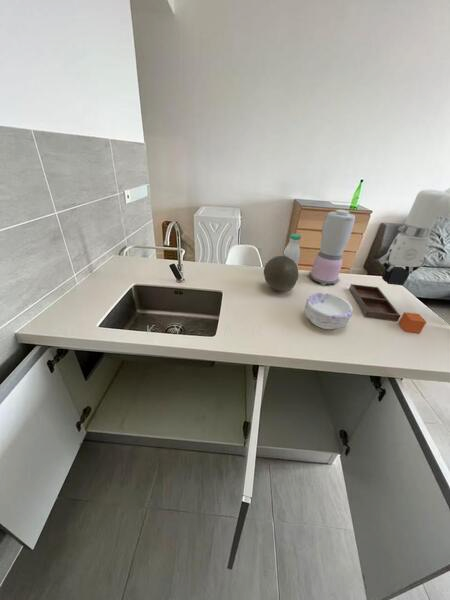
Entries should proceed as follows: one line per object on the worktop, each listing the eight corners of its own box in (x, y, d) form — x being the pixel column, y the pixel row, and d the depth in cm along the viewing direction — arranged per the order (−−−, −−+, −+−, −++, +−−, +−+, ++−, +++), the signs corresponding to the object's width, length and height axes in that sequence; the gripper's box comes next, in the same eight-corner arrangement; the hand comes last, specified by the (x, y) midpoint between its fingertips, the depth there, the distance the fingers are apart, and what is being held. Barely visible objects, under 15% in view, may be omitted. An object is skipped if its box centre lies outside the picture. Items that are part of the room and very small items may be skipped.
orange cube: (412, 325, 89) (419, 313, 86) (419, 333, 84) (426, 322, 82) (398, 323, 89) (404, 312, 86) (404, 331, 85) (410, 320, 82)
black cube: (396, 279, 91) (402, 267, 88) (402, 285, 86) (409, 272, 84) (382, 277, 91) (387, 265, 88) (388, 284, 87) (393, 271, 84)
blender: (341, 285, 113) (366, 214, 97) (319, 287, 110) (340, 214, 94) (322, 271, 126) (340, 206, 110) (301, 272, 123) (316, 206, 107)
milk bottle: (297, 274, 121) (306, 234, 111) (292, 279, 116) (301, 238, 105) (282, 270, 125) (290, 231, 114) (277, 275, 119) (284, 235, 108)
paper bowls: (337, 341, 79) (345, 321, 74) (294, 321, 87) (299, 302, 83) (352, 321, 89) (359, 303, 84) (312, 305, 97) (317, 287, 93)
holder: (375, 292, 109) (378, 287, 108) (397, 321, 90) (400, 315, 89) (349, 289, 110) (350, 284, 109) (364, 317, 92) (367, 311, 90)
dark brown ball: (282, 280, 114) (288, 250, 106) (301, 295, 103) (309, 262, 95) (256, 284, 110) (260, 253, 102) (272, 300, 98) (278, 266, 91)
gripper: (393, 232, 77) (372, 283, 86) (451, 237, 75) (423, 288, 85) (383, 226, 83) (364, 274, 93) (436, 230, 81) (412, 279, 91)
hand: (392, 280), depth 89 cm, fingers closed on black cube, 5 cm apart
